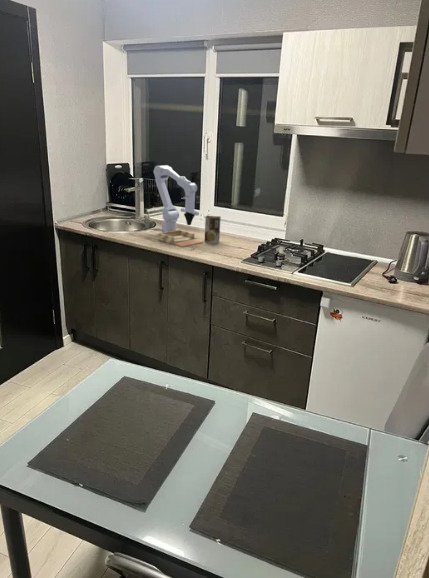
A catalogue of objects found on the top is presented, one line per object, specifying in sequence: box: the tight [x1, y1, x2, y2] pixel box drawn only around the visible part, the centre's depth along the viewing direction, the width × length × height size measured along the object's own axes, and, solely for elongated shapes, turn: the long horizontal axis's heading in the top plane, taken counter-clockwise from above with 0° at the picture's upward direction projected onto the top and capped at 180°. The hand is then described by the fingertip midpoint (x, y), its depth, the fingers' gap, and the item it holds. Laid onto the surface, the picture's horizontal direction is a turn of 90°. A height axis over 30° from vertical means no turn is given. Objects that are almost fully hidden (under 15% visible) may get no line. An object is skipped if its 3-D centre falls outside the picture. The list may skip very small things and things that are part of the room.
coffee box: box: [203, 215, 222, 244], centre depth 266 cm, size 9×6×16 cm
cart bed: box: [158, 229, 196, 245], centre depth 266 cm, size 13×18×4 cm
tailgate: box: [173, 238, 204, 248], centre depth 260 cm, size 1×18×6 cm
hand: (189, 224), depth 269 cm, fingers closed
